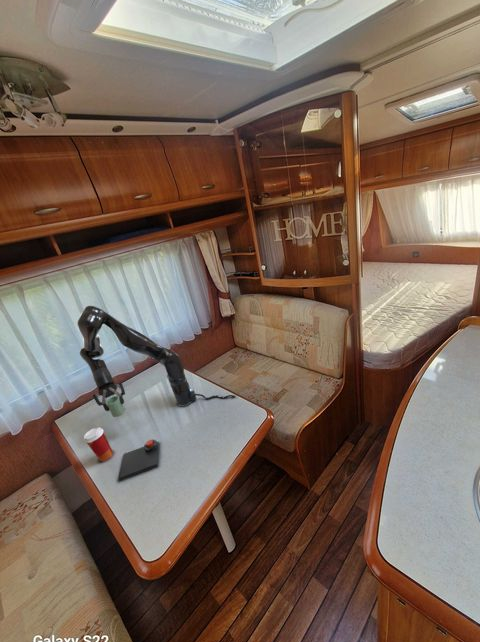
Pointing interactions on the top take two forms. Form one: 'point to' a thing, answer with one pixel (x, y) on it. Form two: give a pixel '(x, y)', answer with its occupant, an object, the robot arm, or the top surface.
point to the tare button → (149, 443)
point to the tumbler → (115, 406)
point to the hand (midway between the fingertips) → (115, 407)
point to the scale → (139, 461)
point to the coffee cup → (98, 443)
